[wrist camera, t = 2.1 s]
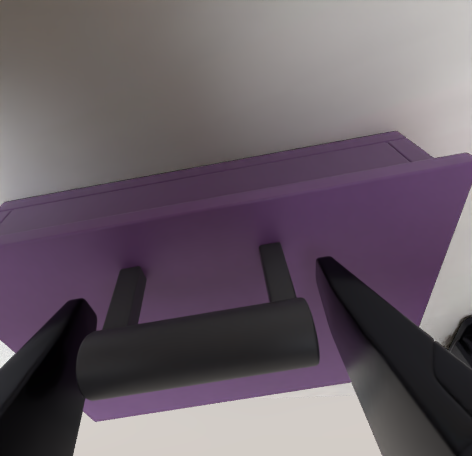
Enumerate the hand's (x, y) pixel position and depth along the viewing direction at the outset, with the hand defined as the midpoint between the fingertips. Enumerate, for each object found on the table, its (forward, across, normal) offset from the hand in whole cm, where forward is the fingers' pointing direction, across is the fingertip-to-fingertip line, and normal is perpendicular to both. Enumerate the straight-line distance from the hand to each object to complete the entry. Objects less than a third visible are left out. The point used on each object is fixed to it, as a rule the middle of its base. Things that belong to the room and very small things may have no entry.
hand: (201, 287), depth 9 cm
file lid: (+2, 0, +4) cm, 5 cm away
